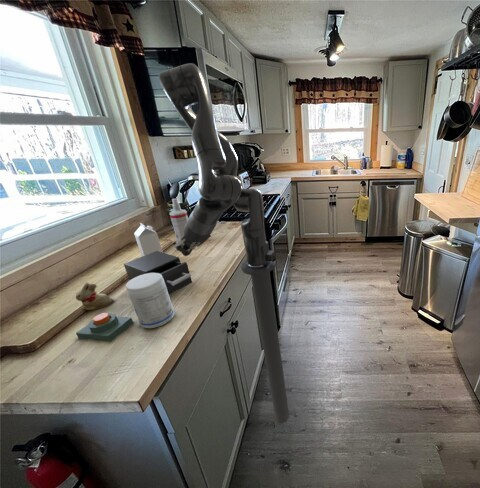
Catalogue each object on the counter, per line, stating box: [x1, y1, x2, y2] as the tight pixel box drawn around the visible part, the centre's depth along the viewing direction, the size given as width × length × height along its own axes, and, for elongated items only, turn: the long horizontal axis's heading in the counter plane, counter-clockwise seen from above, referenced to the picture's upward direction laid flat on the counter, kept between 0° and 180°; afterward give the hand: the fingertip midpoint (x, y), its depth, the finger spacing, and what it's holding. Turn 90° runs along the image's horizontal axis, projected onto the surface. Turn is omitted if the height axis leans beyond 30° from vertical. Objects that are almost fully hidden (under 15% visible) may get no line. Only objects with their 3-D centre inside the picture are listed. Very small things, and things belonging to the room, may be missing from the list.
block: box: [75, 312, 134, 343], centre depth 78 cm, size 11×8×4 cm
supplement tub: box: [125, 273, 175, 329], centre depth 80 cm, size 10×10×15 cm
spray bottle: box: [169, 198, 189, 242], centre depth 135 cm, size 8×8×25 cm
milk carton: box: [133, 222, 164, 257], centre depth 117 cm, size 7×7×19 cm
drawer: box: [149, 261, 193, 296], centre depth 97 cm, size 18×11×9 cm, turn 62°
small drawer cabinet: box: [123, 251, 181, 281], centre depth 101 cm, size 15×13×11 cm
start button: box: [92, 312, 110, 325], centre depth 77 cm, size 4×4×2 cm
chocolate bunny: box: [75, 281, 114, 311], centre depth 89 cm, size 6×8×10 cm
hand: (185, 253), depth 88 cm, fingers closed
